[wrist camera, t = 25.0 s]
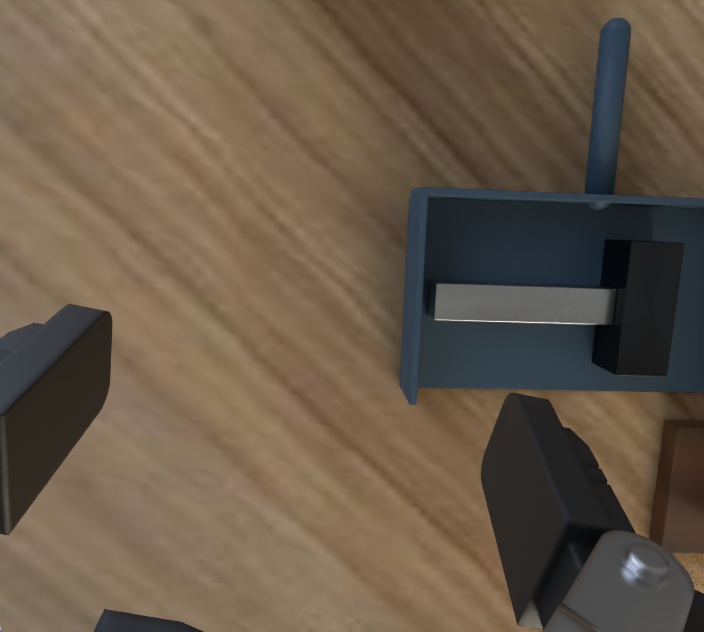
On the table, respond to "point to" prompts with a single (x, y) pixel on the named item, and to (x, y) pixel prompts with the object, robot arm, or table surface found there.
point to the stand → (680, 489)
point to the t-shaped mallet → (588, 305)
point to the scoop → (546, 267)
